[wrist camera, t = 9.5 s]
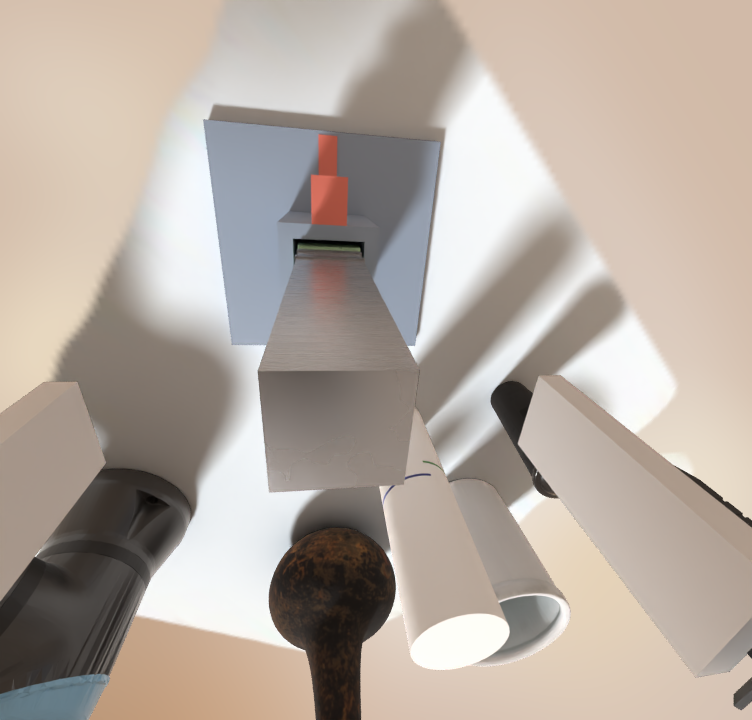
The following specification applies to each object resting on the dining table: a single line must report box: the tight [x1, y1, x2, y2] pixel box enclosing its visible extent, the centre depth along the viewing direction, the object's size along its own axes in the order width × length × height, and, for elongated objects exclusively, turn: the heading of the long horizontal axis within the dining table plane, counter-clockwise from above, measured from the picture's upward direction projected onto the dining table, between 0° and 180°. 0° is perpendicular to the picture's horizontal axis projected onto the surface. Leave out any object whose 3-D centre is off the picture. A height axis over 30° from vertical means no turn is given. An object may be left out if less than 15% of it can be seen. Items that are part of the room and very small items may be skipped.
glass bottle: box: [269, 527, 396, 720], centre depth 44 cm, size 18×18×28 cm
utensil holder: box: [449, 478, 571, 666], centre depth 48 cm, size 15×15×18 cm
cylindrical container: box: [379, 408, 510, 670], centre depth 36 cm, size 7×7×25 cm
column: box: [258, 239, 420, 492], centre depth 19 cm, size 4×4×22 cm
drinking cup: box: [491, 381, 558, 498], centre depth 38 cm, size 8×8×20 cm
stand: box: [203, 119, 441, 346], centre depth 31 cm, size 20×20×11 cm
